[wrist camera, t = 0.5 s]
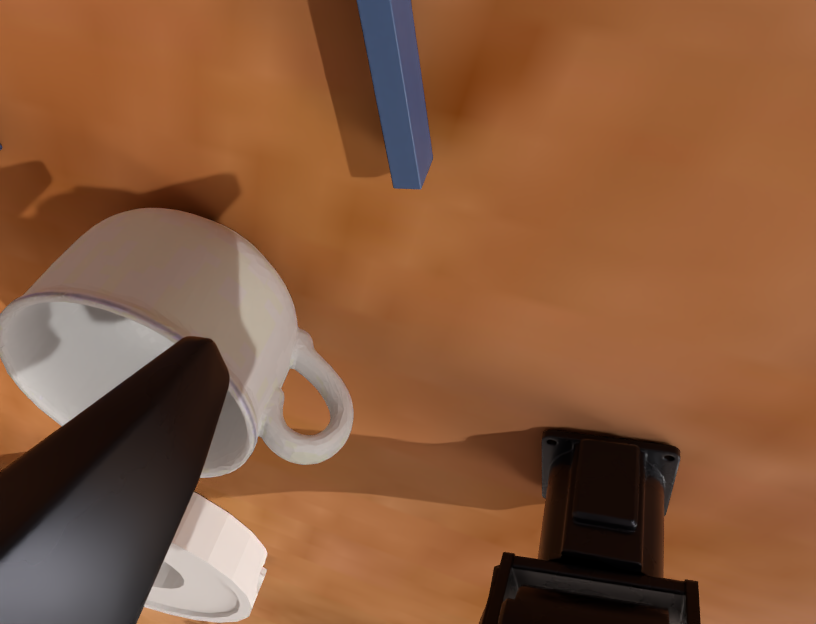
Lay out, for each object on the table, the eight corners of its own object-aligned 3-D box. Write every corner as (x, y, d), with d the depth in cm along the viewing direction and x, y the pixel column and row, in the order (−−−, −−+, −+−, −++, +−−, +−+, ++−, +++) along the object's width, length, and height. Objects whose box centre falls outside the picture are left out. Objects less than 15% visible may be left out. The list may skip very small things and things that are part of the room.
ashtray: (113, 431, 48) (81, 481, 46) (322, 579, 60) (306, 625, 57) (-27, 466, 61) (-57, 507, 59) (167, 582, 73) (149, 620, 71)
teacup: (93, 277, 35) (-8, 406, 30) (109, 121, 27) (-25, 261, 22) (339, 394, 37) (285, 532, 32) (423, 283, 29) (369, 444, 24)
